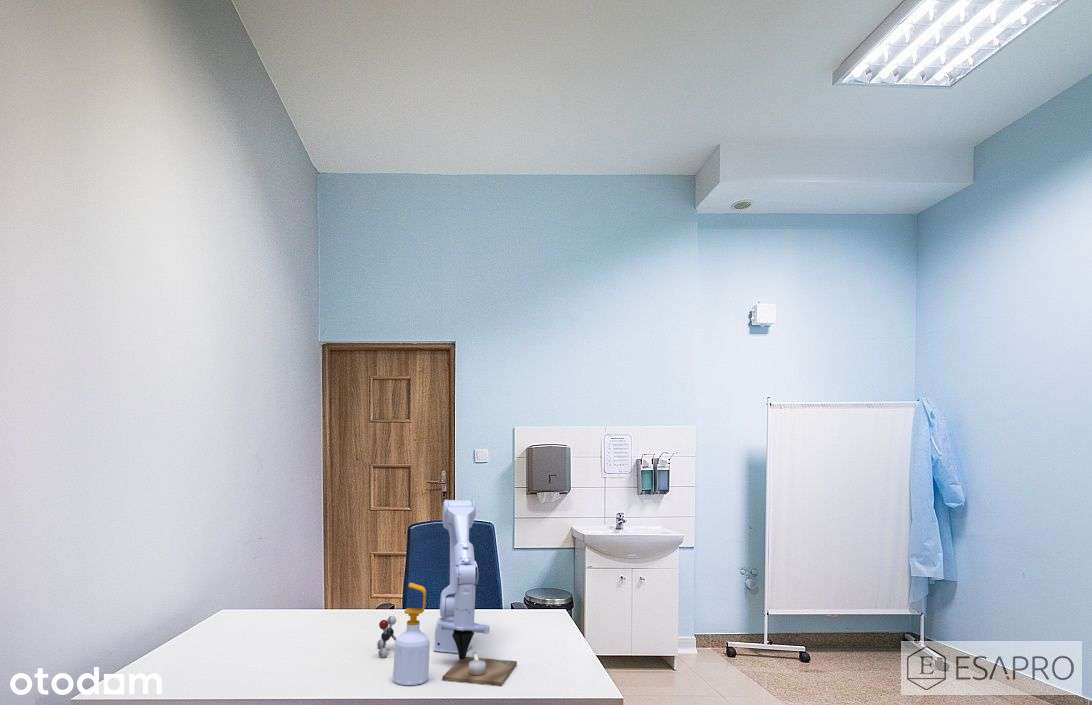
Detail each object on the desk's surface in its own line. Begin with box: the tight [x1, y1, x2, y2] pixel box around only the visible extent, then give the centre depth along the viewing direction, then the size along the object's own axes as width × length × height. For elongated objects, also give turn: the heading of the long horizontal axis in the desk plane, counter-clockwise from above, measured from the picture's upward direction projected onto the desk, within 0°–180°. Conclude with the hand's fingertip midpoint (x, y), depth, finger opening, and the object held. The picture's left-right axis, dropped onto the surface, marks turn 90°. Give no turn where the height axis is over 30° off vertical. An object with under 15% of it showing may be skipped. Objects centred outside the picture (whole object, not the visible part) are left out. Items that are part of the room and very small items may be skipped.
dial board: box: [441, 656, 518, 687], centre depth 199 cm, size 16×18×1 cm
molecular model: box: [376, 615, 397, 659], centre depth 214 cm, size 8×12×11 cm
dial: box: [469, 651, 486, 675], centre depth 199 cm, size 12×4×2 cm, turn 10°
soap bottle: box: [392, 582, 431, 686], centre depth 192 cm, size 9×9×25 cm
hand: (462, 658), depth 204 cm, fingers closed
